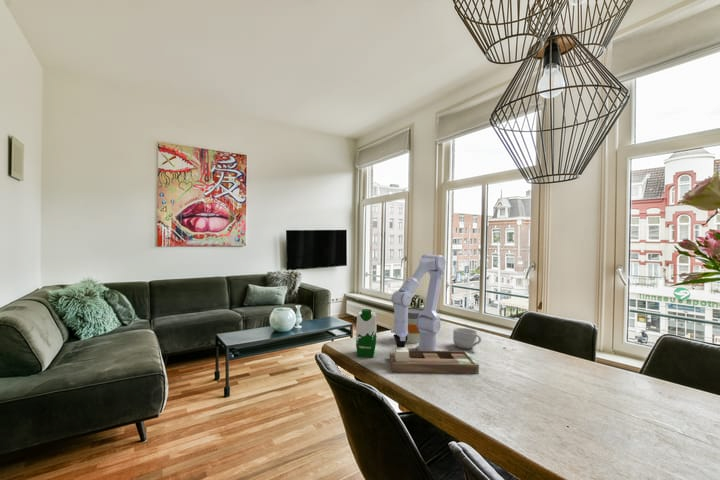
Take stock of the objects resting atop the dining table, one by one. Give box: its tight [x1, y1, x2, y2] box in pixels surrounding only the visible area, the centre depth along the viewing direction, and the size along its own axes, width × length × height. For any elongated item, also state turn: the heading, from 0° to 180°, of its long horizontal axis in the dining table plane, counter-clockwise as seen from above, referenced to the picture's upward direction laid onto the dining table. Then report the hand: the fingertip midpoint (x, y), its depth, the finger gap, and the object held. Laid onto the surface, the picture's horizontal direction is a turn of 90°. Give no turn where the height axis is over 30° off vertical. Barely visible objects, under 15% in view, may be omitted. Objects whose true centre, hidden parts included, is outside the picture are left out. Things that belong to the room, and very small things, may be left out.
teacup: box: [452, 327, 482, 350], centre depth 156 cm, size 14×11×8 cm
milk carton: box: [355, 308, 378, 358], centre depth 145 cm, size 9×9×20 cm
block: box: [394, 346, 409, 362], centre depth 134 cm, size 5×5×4 cm
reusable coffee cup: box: [406, 307, 424, 344], centre depth 166 cm, size 13×12×15 cm
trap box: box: [389, 349, 480, 374], centre depth 135 cm, size 15×34×3 cm, turn 91°
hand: (400, 352), depth 138 cm, fingers closed
